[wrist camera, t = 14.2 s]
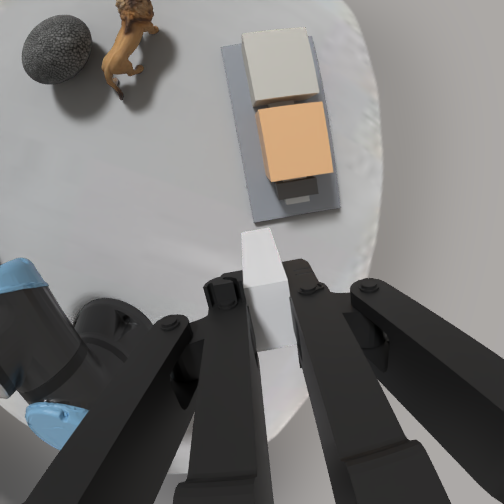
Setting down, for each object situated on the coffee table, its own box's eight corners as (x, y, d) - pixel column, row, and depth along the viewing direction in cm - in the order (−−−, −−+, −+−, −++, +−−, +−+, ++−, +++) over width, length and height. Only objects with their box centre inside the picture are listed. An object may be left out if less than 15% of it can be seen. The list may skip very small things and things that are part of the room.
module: (265, 175, 41) (271, 182, 34) (254, 114, 38) (258, 109, 31) (318, 166, 40) (333, 172, 34) (308, 107, 38) (322, 101, 31)
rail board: (253, 220, 44) (256, 238, 36) (221, 49, 35) (217, 30, 28) (338, 206, 43) (358, 220, 36) (310, 38, 35) (325, 18, 28)
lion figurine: (132, 5, 32) (111, -19, 24) (167, 6, 33) (152, -21, 24) (107, 99, 37) (77, 92, 28) (142, 102, 37) (118, 94, 29)
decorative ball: (95, 87, 36) (60, 77, 27) (40, 89, 35) (1, 83, 26) (109, 23, 33) (80, 0, 23) (54, 29, 32) (19, 12, 22)
